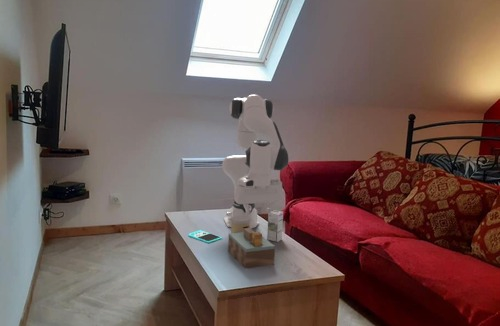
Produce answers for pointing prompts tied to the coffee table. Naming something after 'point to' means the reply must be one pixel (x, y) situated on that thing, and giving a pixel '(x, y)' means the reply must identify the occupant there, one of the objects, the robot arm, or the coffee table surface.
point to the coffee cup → (239, 223)
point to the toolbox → (251, 256)
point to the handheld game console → (204, 236)
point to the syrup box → (275, 226)
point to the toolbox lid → (250, 241)
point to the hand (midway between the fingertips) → (258, 213)
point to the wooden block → (257, 239)
